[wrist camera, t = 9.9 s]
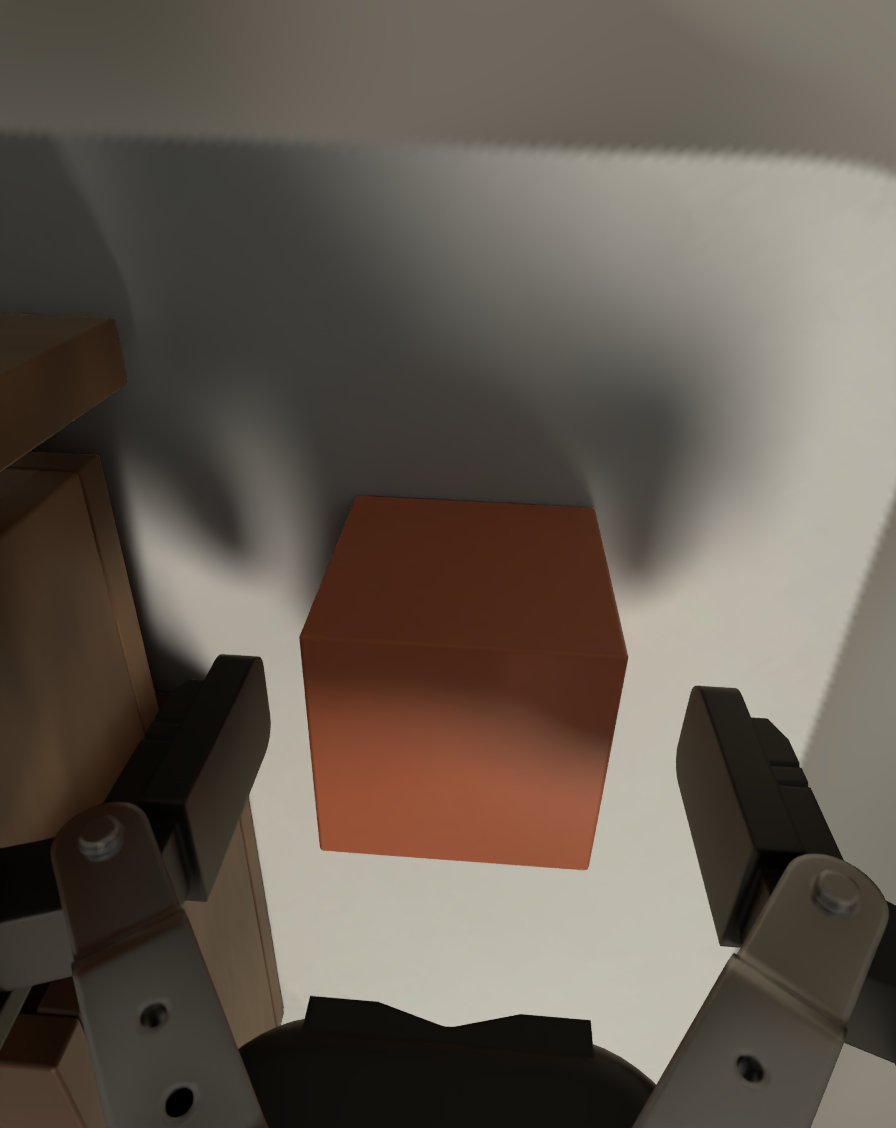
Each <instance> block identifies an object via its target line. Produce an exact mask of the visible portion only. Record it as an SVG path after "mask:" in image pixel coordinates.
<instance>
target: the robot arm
mask: <svg viewBox="0 0 896 1128" xmlns="http://www.w3.org/2000/svg"><path fill="white" fill-rule="evenodd" d="M270 726H271V721H270V711H269V703H268V696H267V688H266V681H265V673H264V666H263V661H262V659H261V658H260V657H257V656H241V655H225V654H220V655H219V656H218V657H217V658H216V660H215V661H214V663H213V665H212V667H211V669H210V670H209V672H208V674H207V676H206V678H205V679H204V680H190V679H189V680H188V681H186V682H185V683H184V684H183V685H182V686H180V687H179V688H178V689H177V690H175V691H174V692H173V693H172V694H170V695H169V696H168V697H167V698H166V700H165V701H164V703H163V705H162V706H161V708H160V710H159V711H158V713H157V715H156V716H155V720H154V722H152V723H151V725H150V726H149V728H148V730H147V731H146V733H145V734H144V739H141V741H140V743H139V744H138V746H137V748H136V749H135V751H134V753H133V754H132V756H131V758H130V759H129V761H128V763H127V764H126V766H125V768H124V769H123V771H122V773H121V774H120V776H119V777H118V779H117V781H116V782H115V784H114V786H113V787H112V789H111V791H110V792H109V794H108V796H107V797H106V799H105V801H104V802H103V803H102V804H99V805H96V806H93V807H90V808H88V809H86V810H84V811H82V812H80V813H79V814H77V815H75V816H74V817H73V818H71V819H70V820H69V821H68V822H67V823H66V824H64V825H63V826H62V828H61V829H60V830H59V831H58V833H57V834H56V836H55V837H53V838H49V839H45V840H41V841H35V842H30V843H25V844H20V845H15V846H10V847H4V848H0V1050H1V1048H2V1046H3V1044H4V1042H5V1040H6V1038H7V1036H8V1034H9V1032H10V1030H11V1028H12V1026H13V1024H14V1022H15V1020H16V1018H17V1016H18V1014H19V1012H20V1010H21V1008H22V1006H23V1004H24V1002H25V1000H26V998H27V996H28V994H29V992H30V990H31V988H32V986H33V985H37V984H42V983H46V982H50V981H54V980H59V979H63V978H67V977H71V976H73V980H74V985H75V990H76V994H77V999H78V1003H79V1008H80V1012H81V1017H82V1022H83V1026H84V1031H85V1035H86V1040H87V1044H88V1049H89V1053H90V1058H91V1063H92V1067H93V1072H94V1076H95V1081H96V1085H97V1090H98V1095H99V1099H100V1104H101V1108H102V1113H103V1117H104V1122H105V1126H106V1128H811V1125H812V1122H813V1120H814V1117H815V1115H816V1112H817V1110H818V1107H819V1105H820V1102H821V1100H822V1097H823V1094H824V1092H825V1090H826V1087H827V1084H828V1082H829V1079H830V1077H831V1074H832V1072H833V1069H834V1067H835V1064H836V1062H837V1059H838V1057H839V1054H840V1051H841V1049H842V1046H843V1044H844V1043H846V1044H849V1045H851V1046H853V1047H856V1048H858V1049H861V1050H864V1051H866V1052H868V1053H871V1054H873V1055H876V1056H878V1057H881V1058H883V1059H885V1060H888V1061H890V1062H893V1063H895V1065H896V905H894V904H892V903H889V902H888V901H886V900H885V898H884V896H883V894H882V893H881V891H880V889H879V888H878V887H877V886H876V884H875V883H874V882H873V881H872V880H871V879H870V878H869V877H868V876H867V875H866V874H864V873H863V872H862V871H860V870H859V869H858V868H856V867H854V866H853V865H851V864H849V863H847V862H845V861H844V860H843V858H842V856H841V854H840V851H839V849H838V847H837V845H836V843H835V840H834V838H833V836H832V834H831V831H830V829H829V827H828V825H827V823H826V820H825V819H824V816H823V814H822V812H821V810H820V807H819V805H818V803H817V801H816V799H815V796H814V794H813V792H812V790H811V788H809V787H808V781H807V779H806V777H805V775H804V772H803V770H802V768H800V767H799V764H800V763H799V761H798V759H797V757H796V755H795V753H794V750H793V748H792V746H791V744H790V742H789V740H788V739H787V738H786V737H785V736H784V735H783V734H782V733H781V732H780V731H779V730H778V729H777V728H776V727H775V726H774V725H773V724H772V723H771V722H770V721H769V720H768V719H765V718H751V716H750V714H749V712H748V709H747V707H746V704H745V702H744V699H743V697H742V695H741V693H740V691H739V690H738V689H736V688H724V687H708V686H694V687H693V689H692V691H691V694H690V698H689V702H688V706H687V710H686V714H685V718H684V722H683V726H682V730H681V734H680V738H679V743H678V747H677V755H676V772H677V779H678V784H679V788H680V792H681V796H682V800H683V803H684V807H685V811H686V815H687V819H688V823H689V827H690V831H691V835H692V838H693V842H694V846H695V850H696V854H697V858H698V862H699V866H700V870H701V874H702V877H703V881H704V885H705V889H706V893H707V897H708V901H709V905H710V909H711V912H712V916H713V920H714V924H715V928H716V932H717V936H718V940H719V944H720V946H727V947H739V948H740V950H739V952H738V953H737V954H735V953H734V954H733V955H732V956H731V957H730V959H729V960H728V962H727V963H726V965H725V967H724V968H723V970H722V972H721V974H720V975H719V977H718V979H717V981H716V982H715V984H714V986H713V988H712V989H711V991H710V993H709V995H708V996H707V998H706V1000H705V1001H704V1003H703V1005H702V1007H701V1008H700V1010H699V1012H698V1014H697V1015H696V1017H695V1019H694V1021H693V1022H692V1024H691V1026H690V1027H689V1029H688V1031H687V1033H686V1034H685V1036H684V1038H683V1040H682V1041H681V1043H680V1045H679V1047H678V1048H677V1050H676V1052H675V1054H674V1055H673V1057H672V1059H671V1060H670V1062H669V1064H668V1066H667V1067H666V1069H665V1071H664V1073H663V1074H662V1076H661V1078H660V1080H659V1081H658V1083H657V1085H656V1084H655V1083H654V1082H653V1081H652V1080H651V1079H649V1078H648V1077H647V1076H646V1075H645V1074H643V1073H642V1072H641V1071H640V1070H639V1069H637V1068H636V1067H635V1066H633V1065H632V1064H630V1063H629V1062H627V1061H626V1060H624V1059H623V1058H621V1057H619V1056H617V1055H616V1054H614V1053H612V1052H610V1051H608V1050H606V1049H604V1048H601V1047H599V1046H596V1045H594V1044H593V1042H592V1031H591V1020H580V1019H569V1018H557V1017H546V1016H534V1015H523V1014H520V1015H514V1016H509V1017H504V1018H498V1019H493V1020H488V1021H483V1022H477V1023H472V1024H467V1025H461V1026H456V1027H445V1026H441V1025H438V1024H435V1023H433V1022H430V1021H427V1020H425V1019H422V1018H419V1017H417V1016H414V1015H412V1014H409V1013H406V1012H404V1011H401V1010H398V1009H396V1008H393V1007H390V1006H388V1005H385V1004H382V1003H380V1002H373V1001H362V1000H350V999H339V998H327V997H316V996H310V999H309V1003H308V1008H307V1012H306V1016H305V1019H302V1020H297V1021H293V1022H290V1023H287V1024H284V1025H281V1026H278V1027H275V1028H273V1029H271V1030H269V1031H267V1032H265V1033H262V1034H260V1035H259V1036H257V1037H255V1038H254V1039H252V1040H250V1041H249V1042H247V1043H245V1044H244V1045H243V1046H241V1047H240V1048H239V1049H238V1047H237V1045H236V1042H235V1039H234V1037H233V1034H232V1031H231V1029H230V1026H229V1023H228V1021H227V1018H226V1016H225V1013H224V1010H223V1008H222V1005H221V1002H220V1000H219V997H218V994H217V992H216V989H215V987H214V984H213V981H212V979H211V976H210V973H209V971H208V968H207V965H206V963H205V960H204V958H203V955H202V952H201V950H200V947H199V944H198V942H197V939H196V936H195V934H194V931H193V928H192V926H191V923H190V921H189V918H188V916H187V913H186V911H185V909H184V908H183V909H182V906H183V904H184V902H185V900H186V901H199V902H207V901H208V898H209V896H210V893H211V891H212V888H213V885H214V883H215V880H216V878H217V875H218V873H219V870H220V868H221V865H222V863H223V860H224V857H225V855H226V852H227V850H228V847H229V845H230V842H231V840H232V837H233V834H234V832H235V829H236V827H237V824H238V822H239V819H240V817H241V814H242V812H243V809H244V806H245V804H246V801H247V799H248V796H249V794H250V791H251V789H252V786H253V784H254V781H255V778H256V776H257V773H258V771H259V768H260V766H261V763H262V761H263V758H264V756H265V753H266V750H267V747H268V742H269V737H270Z"/></svg>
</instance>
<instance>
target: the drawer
mask: <svg viewBox="0 0 896 1128" xmlns="http://www.w3.org/2000/svg"><path fill="white" fill-rule="evenodd" d="M127 383H128V379H127V374H126V369H125V364H124V360H123V355H122V350H121V345H120V340H119V335H118V330H117V325H116V320H115V319H114V318H107V317H83V316H59V315H35V314H11V313H0V848H4V847H10V846H15V845H20V844H25V843H30V842H35V841H41V840H45V839H49V838H53V837H55V836H56V834H57V833H58V831H59V830H60V829H61V828H62V826H63V825H64V824H66V823H67V822H68V821H69V820H70V819H71V818H73V817H74V816H75V815H77V814H79V813H80V812H82V811H84V810H86V809H88V808H90V807H93V806H96V805H99V804H102V803H103V802H104V801H105V799H106V797H107V796H108V794H109V792H110V791H111V789H112V787H113V786H114V784H115V782H116V781H117V779H118V777H119V776H120V774H121V773H122V771H123V769H124V768H125V766H126V764H127V763H128V761H129V759H130V758H131V756H132V754H133V753H134V751H135V749H136V748H137V746H138V744H139V743H140V741H141V739H144V734H145V733H146V731H147V730H148V728H149V726H150V725H151V723H152V722H154V720H155V716H156V715H157V713H158V711H159V708H158V704H157V700H156V696H155V691H154V687H153V683H152V679H151V674H150V670H149V666H148V661H147V657H146V653H145V649H144V644H143V640H142V636H141V632H140V627H139V623H138V619H137V614H136V610H135V606H134V602H133V597H132V593H131V589H130V584H129V580H128V576H127V572H126V567H125V563H124V559H123V555H122V550H121V546H120V542H119V537H118V533H117V529H116V525H115V520H114V516H113V512H112V508H111V503H110V499H109V495H108V490H107V486H106V482H105V478H104V473H103V469H102V465H101V461H100V457H99V456H98V455H84V454H65V453H45V452H30V451H31V450H33V449H34V448H35V447H37V446H38V445H40V444H41V443H43V442H44V441H46V440H47V439H48V438H50V437H51V436H53V435H54V434H56V433H57V432H59V431H60V430H61V429H63V428H64V427H66V426H67V425H69V424H70V423H72V422H73V421H74V420H76V419H77V418H79V417H80V416H82V415H83V414H85V413H86V412H88V411H89V410H90V409H92V408H93V407H95V406H96V405H98V404H99V403H101V402H102V401H103V400H105V399H106V398H108V397H109V396H111V395H112V394H114V393H115V392H116V391H118V390H119V389H121V388H122V387H124V386H125V385H127ZM50 983H51V981H50V982H46V983H42V984H37V985H33V986H32V988H31V990H30V992H29V994H28V996H27V998H26V1000H25V1002H24V1004H23V1006H22V1008H21V1010H20V1012H19V1013H25V1014H36V1015H37V1007H38V1005H39V1003H40V1001H41V999H42V998H43V996H44V994H45V992H46V990H47V988H48V986H49V984H50Z"/></svg>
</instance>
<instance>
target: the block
mask: <svg viewBox="0 0 896 1128" xmlns="http://www.w3.org/2000/svg"><path fill="white" fill-rule="evenodd" d="M299 638H300V648H301V659H302V669H303V679H304V689H305V699H306V710H307V720H308V730H309V740H310V750H311V761H312V771H313V781H314V791H315V801H316V812H317V822H318V832H319V842H320V848H321V850H324V851H336V852H349V853H362V854H376V855H389V856H402V857H416V858H429V859H442V860H456V861H469V862H482V863H496V864H509V865H522V866H536V867H549V868H562V869H575V870H587V869H588V867H589V863H590V857H591V852H592V847H593V841H594V836H595V831H596V826H597V820H598V815H599V810H600V804H601V799H602V794H603V789H604V783H605V778H606V773H607V767H608V762H609V757H610V751H611V746H612V741H613V736H614V730H615V725H616V720H617V714H618V709H619V704H620V699H621V693H622V688H623V683H624V677H625V672H626V667H627V662H628V654H627V649H626V645H625V641H624V636H623V632H622V627H621V623H620V618H619V614H618V609H617V605H616V601H615V596H614V592H613V587H612V583H611V578H610V574H609V569H608V565H607V561H606V556H605V552H604V547H603V543H602V538H601V534H600V529H599V525H598V521H597V516H596V512H595V509H593V508H585V507H566V506H546V505H527V504H508V503H489V502H470V501H451V500H432V499H413V498H394V497H375V496H357V497H356V498H355V500H354V503H353V505H352V508H351V510H350V513H349V515H348V518H347V520H346V523H345V525H344V528H343V530H342V533H341V535H340V538H339V540H338V543H337V545H336V548H335V550H334V553H333V555H332V558H331V560H330V562H329V565H328V567H327V570H326V572H325V575H324V577H323V580H322V582H321V585H320V587H319V590H318V592H317V595H316V597H315V600H314V602H313V605H312V607H311V610H310V612H309V615H308V617H307V619H306V622H305V624H304V627H303V629H302V632H301V634H300V637H299Z"/></svg>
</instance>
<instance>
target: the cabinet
mask: <svg viewBox="0 0 896 1128" xmlns="http://www.w3.org/2000/svg"><path fill="white" fill-rule="evenodd" d="M170 694H172V693H159V692H155V696H156V700H157V704H158V708H159V710H160V708H161V706H162V705H163V703H164V701H165V700H166V698H167V697H168V696H169V695H170ZM183 908H184V909H185V911H186V913H187V916H188V918H189V921H190V923H191V926H192V928H193V931H194V934H195V936H196V939H197V942H198V944H199V947H200V950H201V952H202V955H203V958H204V960H205V963H206V965H207V968H208V971H209V973H210V976H211V979H212V981H213V984H214V987H215V989H216V992H217V994H218V997H219V1000H220V1002H221V1005H222V1008H223V1010H224V1013H225V1016H226V1018H227V1021H228V1023H229V1026H230V1029H231V1031H232V1034H233V1037H234V1039H235V1042H236V1045H237V1047H238V1049H239V1048H240V1047H241V1046H243V1045H244V1044H245V1043H247V1042H249V1041H250V1040H252V1039H254V1038H255V1037H257V1036H259V1035H260V1034H262V1033H265V1032H267V1031H269V1030H271V1029H273V1028H275V1027H278V1026H281V1022H282V1018H283V1014H284V1011H283V1005H282V999H281V993H280V987H279V981H278V975H277V969H276V962H275V956H274V950H273V944H272V938H271V932H270V926H269V920H268V914H267V908H266V902H265V896H264V890H263V884H262V878H261V872H260V865H259V859H258V853H257V847H256V841H255V835H254V829H253V823H252V817H251V811H250V805H249V799H247V801H246V804H245V806H244V809H243V812H242V814H241V817H240V819H239V822H238V824H237V827H236V829H235V832H234V834H233V837H232V840H231V842H230V845H229V847H228V850H227V852H226V855H225V857H224V860H223V863H222V865H221V868H220V870H219V873H218V875H217V878H216V880H215V883H214V885H213V888H212V891H211V893H210V896H209V898H208V901H207V902H199V901H186V900H185V902H184V904H183V906H182V909H183ZM0 1128H106V1126H105V1122H104V1117H103V1113H102V1108H101V1104H100V1099H99V1095H98V1090H97V1085H96V1081H95V1076H94V1072H93V1067H92V1063H91V1058H90V1053H89V1049H88V1044H87V1040H86V1035H85V1031H84V1026H83V1022H82V1017H81V1012H80V1008H79V1003H78V999H77V994H76V990H75V985H74V980H73V976H71V977H67V978H63V979H59V980H54V981H51V983H50V984H49V986H48V988H47V990H46V992H45V994H44V996H43V998H42V999H41V1001H40V1003H39V1005H38V1007H37V1015H36V1014H25V1013H19V1014H18V1016H17V1018H16V1020H15V1022H14V1024H13V1026H12V1028H11V1030H10V1032H9V1034H8V1036H7V1038H6V1040H5V1042H4V1044H3V1046H2V1048H1V1050H0Z"/></svg>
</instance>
